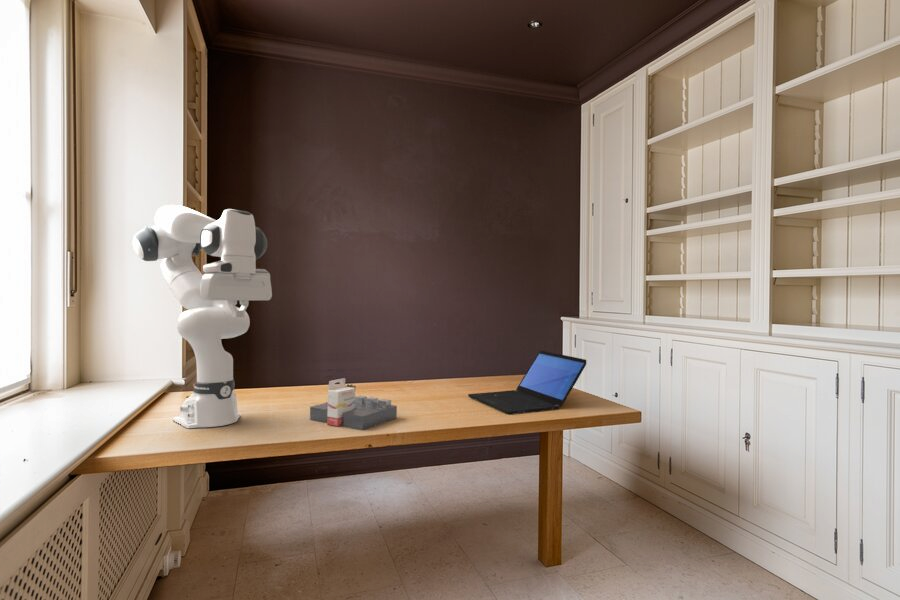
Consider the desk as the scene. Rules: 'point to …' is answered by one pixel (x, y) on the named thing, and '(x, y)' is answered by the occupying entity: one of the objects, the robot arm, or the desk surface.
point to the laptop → (538, 385)
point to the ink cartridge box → (339, 401)
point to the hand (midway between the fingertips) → (238, 317)
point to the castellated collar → (360, 413)
